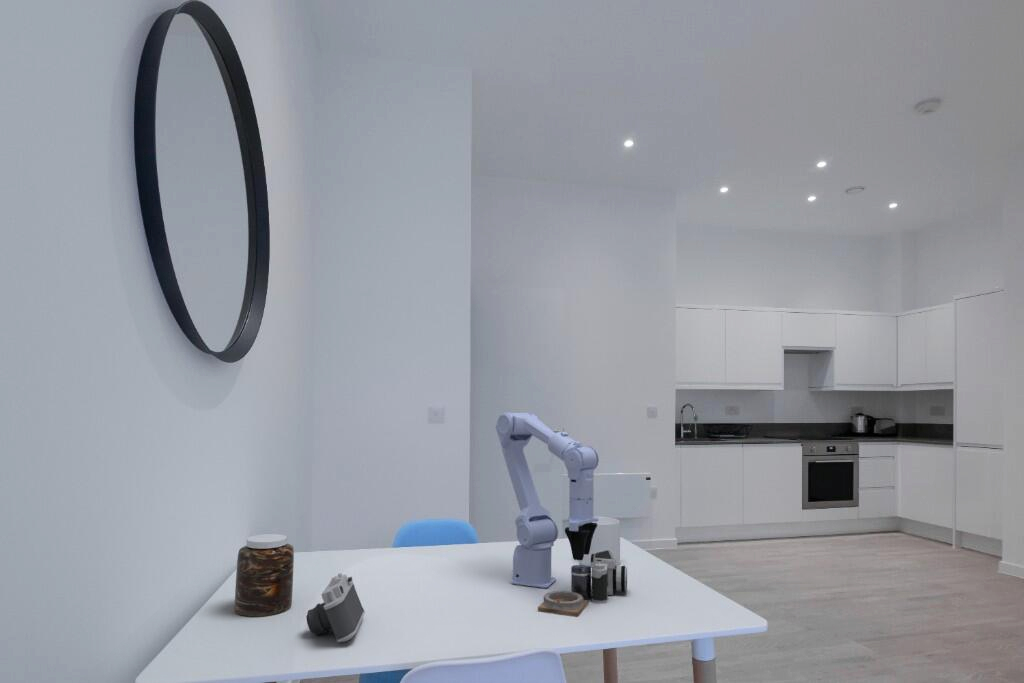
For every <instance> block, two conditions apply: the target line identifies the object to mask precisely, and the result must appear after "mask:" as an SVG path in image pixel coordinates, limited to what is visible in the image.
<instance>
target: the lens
mask: <svg viewBox="0 0 1024 683" xmlns="http://www.w3.org/2000/svg"><path fill="white" fill-rule="evenodd" d="M570 575H571V577H570V578H571V582H570V584H571V590H570V592H575V593H578V594H581V595H582V597H583V600H588V602H589V601H592V599H591V596H592V579H591V576H592V567H590V566H587V565H582V564H573V565H571V568H570Z"/></svg>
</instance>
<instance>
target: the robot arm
mask: <svg viewBox="0 0 1024 683" xmlns="http://www.w3.org/2000/svg"><path fill="white" fill-rule="evenodd" d="M495 430H496V433H497V435H498V439H499V442H500V445H501V450H502V455H503V457H504V461H505V464H506V467H507V471H508V474H509V477H510V481H511V484H512V487H513V490H514V494H515V497H516V501H517V503H518V506H519V510H520V511H519V514H518V515H517V517H516V519H515V520H514V522H515V527H516V538H517V541H518V543H519V544H517V545H516V546H515V548H514V550H513V555H512V557H513V558H512V581H511V584H512V585H519V586H525V587H526V586H527V587H528V586H529V587H534V588H543V589H548V588H549V587H550V586H551V585H552V584H554V583H555V582H556V581H557V578H556V577H552V547H554V542H556V541H557V540H558V536H559V528H558V524H557V523H556V521H555V520H554V518H553V517H552V515H551V512H550V511H549V510H548V509H546V508H545V507H543V505H541V503H540V500H539V496H538V493H537V490H536V486H535V484H534V480H533V477H532V473H531V470H530V468H529V464H528V462H527V459H526V456H525V453H524V448H525V447H526V446H527V445H528V444H529V443H530V440H531V439H532V437H534V438H536V439H538V440H540V441H542V442H543V443H544V444H546V445H547V449H548V451H549V452H550V453H551V454H553V455H554V456H555V457H557V458H558V459H559V460H561V461H562V462H563V463H564V466H565V469H566V470H567V471H566V472H567V476H568V479H569V480H568V482H569V486H568V488H569V490H568V491H569V492H568V493H569V495H568V496H569V501H568V503H569V504H568V505H569V508H568V509H569V511H568V512H569V515H568V527H565V528H564V533H565V535H566V537H567V539H568V542H569V545H570V550H571V554H572V559H573V560H575V561H579V560H583V557H584V554H586V555H588V554H589V552H590V547H591V542H592V537H593V534H594V531H595V529H596V527H597V523H591V522H597V521H598V518H597V517H598V516H594V470H596V469H597V467H598V465H599V461H600V460H599V455H598V452H597V451H596V449H595V448H594V447H593V446H590V445H587V446H583V445H582V444H581V442H580V441H579V440H577V441H575V440H574V439H573V438H572V437H570V436H569V433H567V432H566V431H562V432H561V431H557V432H555V431H553V430H552V429H551V428H550V427H548V426H547V425H546V424H544V423H543V422H542V421H541V420H540V419H539V416H537V415H536V414H534V413H532V412H528V411H527V412H506V411H504V412H502V413H501V414H500V415H499V416H498V418H497V421H496V424H495Z"/></svg>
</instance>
